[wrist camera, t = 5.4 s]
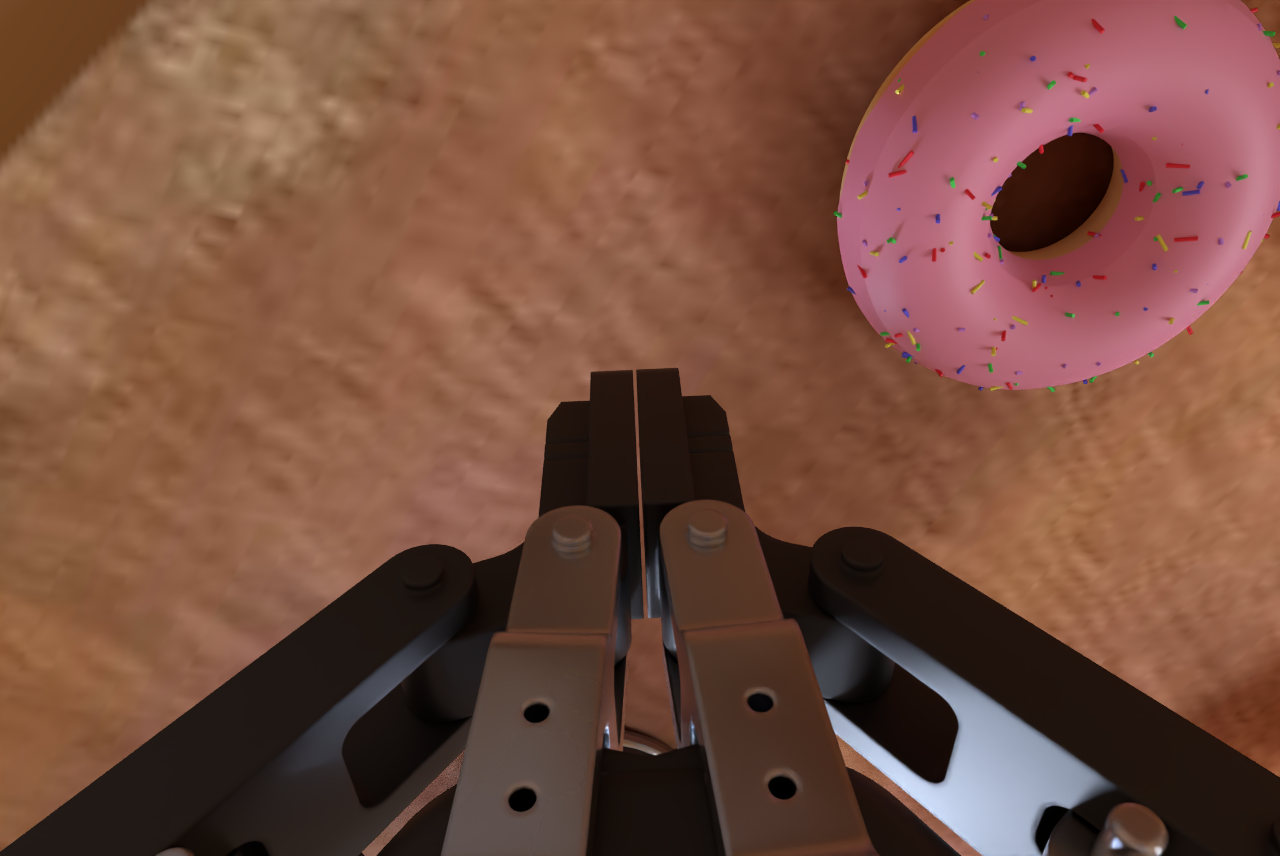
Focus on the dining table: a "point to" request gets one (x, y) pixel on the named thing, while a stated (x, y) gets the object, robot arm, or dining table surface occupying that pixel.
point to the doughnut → (1023, 122)
